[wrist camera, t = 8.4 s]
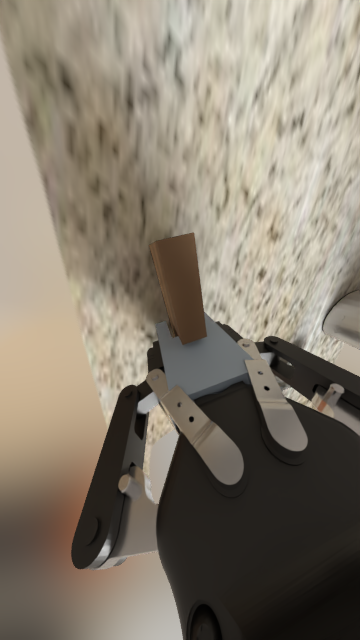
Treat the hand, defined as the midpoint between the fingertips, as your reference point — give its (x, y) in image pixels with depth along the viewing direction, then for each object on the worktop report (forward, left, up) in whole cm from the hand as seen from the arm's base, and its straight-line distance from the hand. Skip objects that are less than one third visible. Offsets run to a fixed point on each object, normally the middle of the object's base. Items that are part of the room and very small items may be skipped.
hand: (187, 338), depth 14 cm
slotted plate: (0, 0, -4) cm, 4 cm away
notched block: (0, 0, -2) cm, 2 cm away
